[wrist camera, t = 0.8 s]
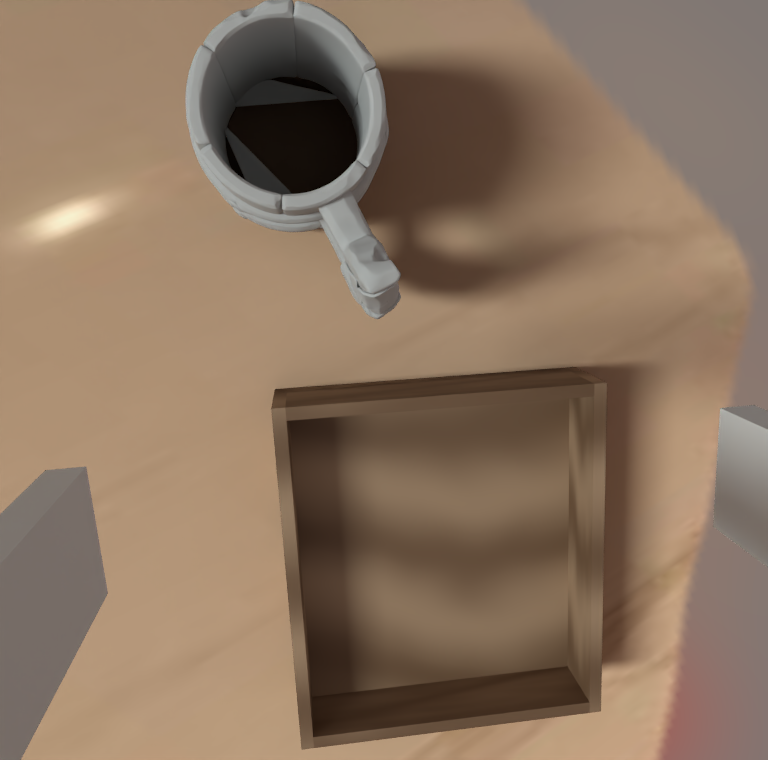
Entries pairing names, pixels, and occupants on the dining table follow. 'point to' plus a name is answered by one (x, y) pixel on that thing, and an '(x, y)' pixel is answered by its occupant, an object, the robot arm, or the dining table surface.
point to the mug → (253, 87)
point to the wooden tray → (443, 550)
